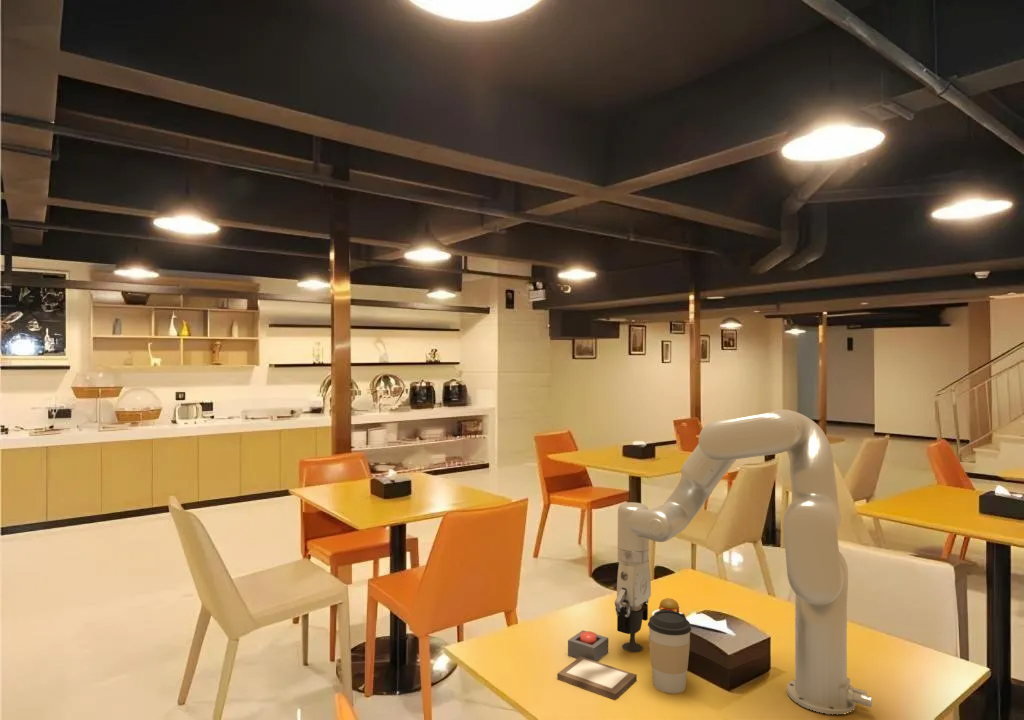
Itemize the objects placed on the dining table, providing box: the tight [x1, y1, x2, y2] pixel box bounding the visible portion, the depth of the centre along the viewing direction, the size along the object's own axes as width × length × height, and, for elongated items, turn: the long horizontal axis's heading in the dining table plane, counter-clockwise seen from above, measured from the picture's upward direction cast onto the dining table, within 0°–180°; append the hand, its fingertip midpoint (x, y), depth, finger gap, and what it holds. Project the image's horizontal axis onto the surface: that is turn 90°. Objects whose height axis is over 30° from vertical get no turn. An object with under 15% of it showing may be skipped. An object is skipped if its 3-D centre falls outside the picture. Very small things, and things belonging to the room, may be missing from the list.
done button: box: [580, 630, 597, 645], centre depth 145 cm, size 4×4×2 cm
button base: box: [567, 629, 609, 662], centre depth 145 cm, size 7×7×4 cm
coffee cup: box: [647, 610, 692, 695], centre depth 131 cm, size 9×9×15 cm
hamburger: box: [651, 597, 684, 617], centre depth 167 cm, size 12×12×6 cm
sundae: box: [622, 601, 647, 653], centre depth 148 cm, size 7×7×15 cm
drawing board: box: [556, 656, 638, 701], centre depth 132 cm, size 14×10×1 cm
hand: (632, 625), depth 148 cm, fingers open, 9 cm apart
